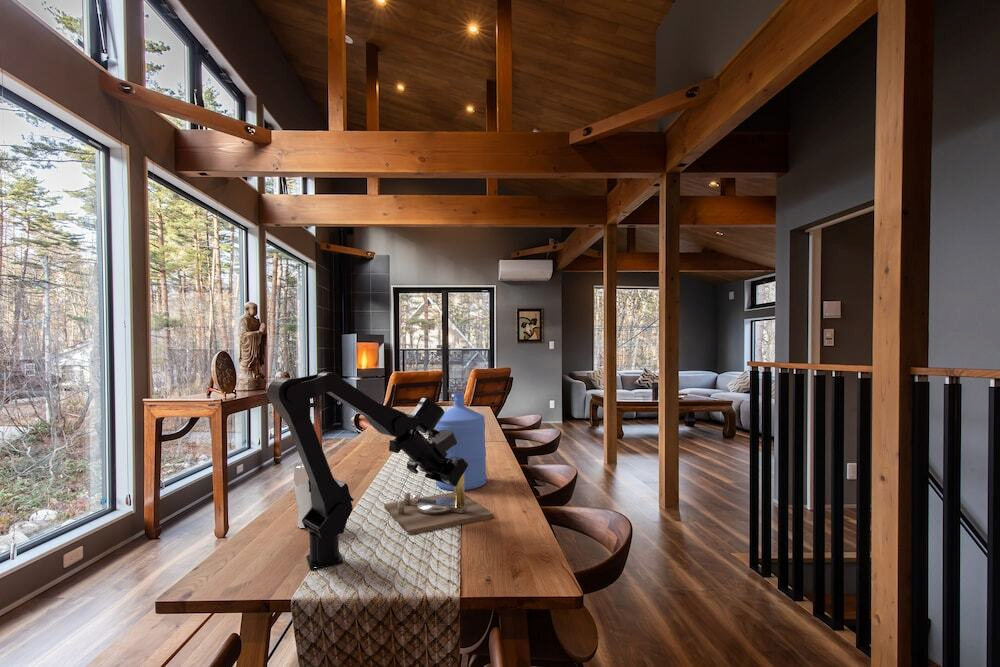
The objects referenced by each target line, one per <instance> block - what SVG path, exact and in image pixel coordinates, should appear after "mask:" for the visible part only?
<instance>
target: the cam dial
mask: <svg viewBox="0 0 1000 667" xmlns="http://www.w3.org/2000/svg"><path fill="white" fill-rule="evenodd" d="M465 491H466V490H465V486H464V473H463V475H462V476H461V478H460V480H459V481H458V484H457V486H456V487H455V486H454V490H453V492H454V496H455V500H453V499H449V498H430V499H428V498H423V497H421V496H420V495H419V494H414V495H412V496H411V498H410V500H412V502H413V503H414V504H417V510H418V511H419V512H421V513H425V514H441V513H446V512H450V511H452V512H458V513H463V512H465V511H466V510H467V506H465V495H466V494H465V493H466V492H465Z"/></svg>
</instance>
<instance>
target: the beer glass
mask: <svg viewBox="0 0 1000 667" xmlns="http://www.w3.org/2000/svg"><path fill="white" fill-rule="evenodd" d="M293 491H294V495H295V500H296V504H297V513H298V515H297V521H296V528H298V527H299V528H298V529H300V528H305V527H304V525H303V523H302V519H303V518H304V517H305V515H306V514H307V513H308V511H309V510H310V509H311V508H312V501H311V483H310V480H309V478H308V475H307V473H306V470H305V468H304V465H303V463H302V461H300V462H299V463H296V464H294V470H293Z"/></svg>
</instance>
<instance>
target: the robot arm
mask: <svg viewBox="0 0 1000 667" xmlns="http://www.w3.org/2000/svg"><path fill="white" fill-rule="evenodd" d="M325 394H328V395H329V396H331V397H333V398H334V399H335V400H337V401H338V402H340V403H342V404H344V405H345V406H347V407H348V408H350V409H352V410H353V411H355V412H356V413H358V414H360V415H361V416H363V417H364V418H365V419H366V420H367V422H368V423H369V424H370V426H372V427H373V428H374V429H375V431H377V432H378V433H380V434H382V435H385V436H389V437H394V439H389V441H388V442H389V446H388V451H389V452H391V453H394V454H399V453H400V452H401V451H402V452H403V453H404V454H406V456H408V458H407V459H408V461H407V463H406V469H407V470H408V471H410V473H413V474H414V475H415V474H416V475H418V474H419V471H420V472H422V473H425V475H424V477H425V478H426V479H429V480H434V481H435V482H436V481H439V482H442V483H445V484H448V485H451V486H455V487H456V486H457V484H458V481H459V480H460V478H461V476H462V475H463V473H464V472H465V470H466V469H467V467H468V463H467V462H466V461H465V460H464V459H462V458H458V457H451V458H450V459H449V458H445V457H446V456H447V453H446V452H445V451H447V450H449V449H450V448H451V447H452V446H454V445H456V444H457V440H456V438H455V435H454V433H453V431H449V430H439V431H437V430H435V426H436V425H437V423H438V422H439V421H440V419H441V418H442V416H443V415H444V413H445V412H446V411H445V410H444V409H443V407H442V406H440V405H438V404H437V403H435V402H433V401H431V400H430V399H429V398H428V397H421V399H420V400H419V401H418V404H417V405H416V406H415V408H414V409H413V410H412V412H411V414H410V413H405V412H403V411H402V410H398V409H397V408H393V407H391V406H388V405H385V404H382V403H379V401H377V400H375V399H373V398H372V397H370V396H369V395H368V394H366V393H364V392H363V391H361V390H359V389H358V388H356V387H355V386H354V385H352V384H351V383H349V382H348V381H346V380H345V379H343V378H341V377H340V376H339V374H337V373H336V372H330V371H322V372H319V373H316V374H312V375H311V374H310V375H307V376H302V377H301V376H300V377H296V378H295V377H294V378H293V377H292V378H290V377H278V378H275V379H274V380H272V381H271V383H269V385H268V387H267V389H266V396H267V397H266V398H267V399H268V400H269V401H268V402H270V404H271V405H272V407H273V408H274V410H275V412H276V413H277V414H278V415H279V416H280V418H281V419H282V420H283V421H284V422H285V424H286V425H287V427H288V429H289V430H288V431H289V432H290V435H291V437H292V440H293V442H294V445H295V447H296V449H297V453H298V454H299V457H300V460H301V462H302V463H303V465H304V468H305V470H306V473H307V475H308V478H309V480H310V483H311V501H312V508H311V509H310V510H309V511H308V513H307V514H306V515H305V517H304V518H303V519H302V523H303V525H304V527H305V529H304V530H308V531H309V532H308V533H309V534H308V537H309V538H308V539H309V540H308V542H309V554H307V555H305V558H306V562H307V565H308V567H309V570H313V569H312V568H314V567H321V568H323V567H322V566H325V567H328V566H327V565H330V566H334V564H335V565H338V564H343V563H344V558H343V556H342V554H341V552H340V544H339V542H340V541H339V540H340V538H339V537H340V535H341V534H344V533H345V530H346V525H347V523H348V519H349V518H350V516H351V514H352V512H353V504H352V503H353V502H354V501H355V498H353V497H352V496H351V493H350V489H349V485H348V483H346V482H344V481H341V480H339V479H337V478H334V475H333V473H332V471H331V468H330V465H329V462H328V460H327V457H326V455H325V452H324V450H323V448H322V447H323V446H322V445H321V442H320V439H319V437H318V434H317V432H316V429H315V427H314V424H313V421H312V418H311V404H312V403H311V400H312V399H315V398H317V397H320V396H322V395H325ZM426 433H428V434H427V436H428V439H427V438H426V437H425V436H424V435H423V434H426ZM418 467H419V468H418Z"/></svg>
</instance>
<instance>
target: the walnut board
mask: <svg viewBox="0 0 1000 667" xmlns="http://www.w3.org/2000/svg"><path fill="white" fill-rule="evenodd" d="M403 496H404V497H403V499H404V500H403V499H401V500H398V501H395V502H389V503H384V504H383V506H384V507H383V508H384V509H385V510H386V511H387V513H388V512H389V513H390V514H389V513H388V514H389V515H390V516H391V517H392V519H394V520H395V521H396V523H397V522H398V523H397V524H398V525H399V526H400V527H401V528H402V529H403V530H404V532H405V531H406V532H407V533H408V534H409V535H414V534H418V533H424V532H429V531H433V530H439V529H443V528H448V527H453V526H454V527H455V526H459V525H464V524H468V523H472V522H479V521H483V520H488V519H489V520H490V519H493V518H494V513H493V512H492V511H490V510H488V509H487V508H486V507H484V506H483V505H482V504H479V503H478V502H476V501H475V500H474V499H472V498H471V497H469V496H468V495H466V494H465V506H467V510H466V511H465V512H463V513H458V512H452V511H450V512H446V513H441V514H425V513H421V512H419V511H418V510H417V504H414V503H413V502H412V500H411V492H404V493H403ZM422 498H428V499H430V498H449V499H453V500H455V496H454V491H453V492H448V493H441V494H436V495H430V496H423V497H422ZM406 532H405V533H406ZM407 533H406V534H407ZM413 533H414V534H413ZM408 534H407V535H408Z"/></svg>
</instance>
